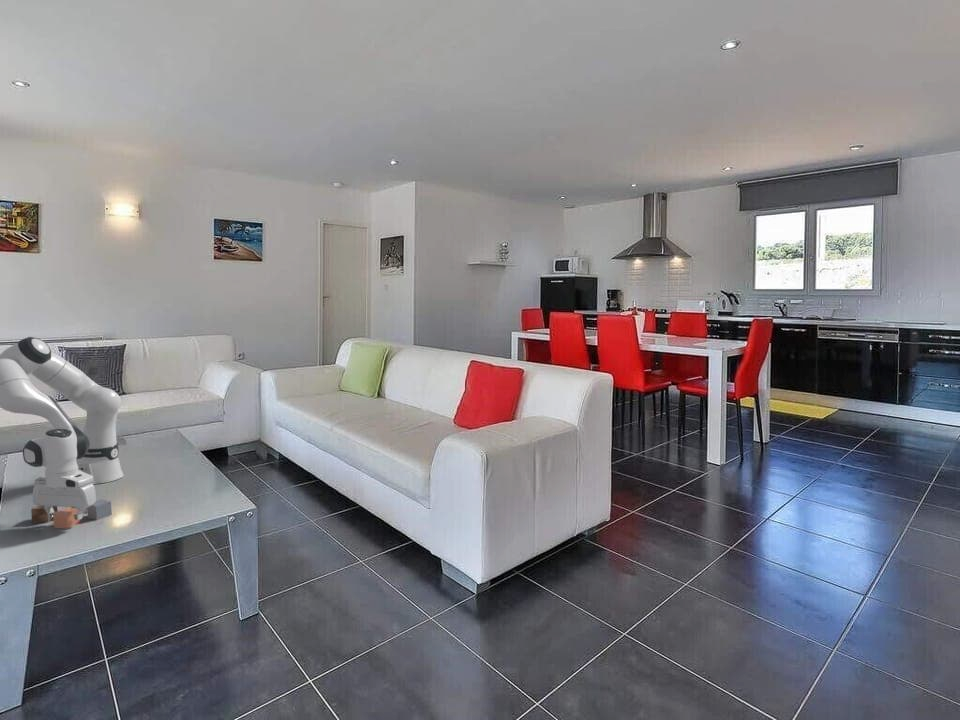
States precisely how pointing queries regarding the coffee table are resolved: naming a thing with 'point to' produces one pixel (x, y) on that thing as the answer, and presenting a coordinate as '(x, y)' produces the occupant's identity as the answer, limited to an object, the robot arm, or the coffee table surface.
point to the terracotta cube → (65, 518)
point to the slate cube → (99, 509)
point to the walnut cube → (41, 514)
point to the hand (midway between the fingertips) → (65, 518)
